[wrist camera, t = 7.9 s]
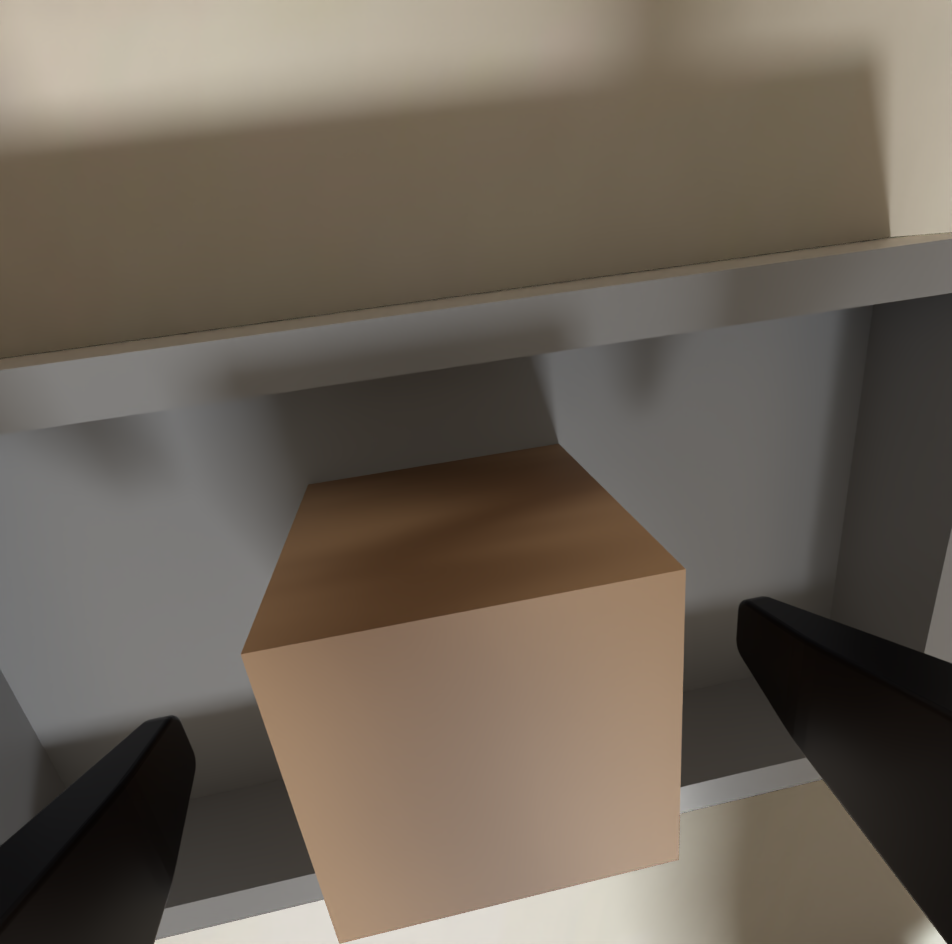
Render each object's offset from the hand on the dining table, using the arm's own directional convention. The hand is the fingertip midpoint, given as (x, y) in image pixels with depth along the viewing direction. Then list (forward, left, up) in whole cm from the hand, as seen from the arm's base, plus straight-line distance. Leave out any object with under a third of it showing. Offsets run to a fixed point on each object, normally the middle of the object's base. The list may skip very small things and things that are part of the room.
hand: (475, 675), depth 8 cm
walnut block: (0, 0, -3) cm, 3 cm away
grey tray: (0, 0, -4) cm, 4 cm away
